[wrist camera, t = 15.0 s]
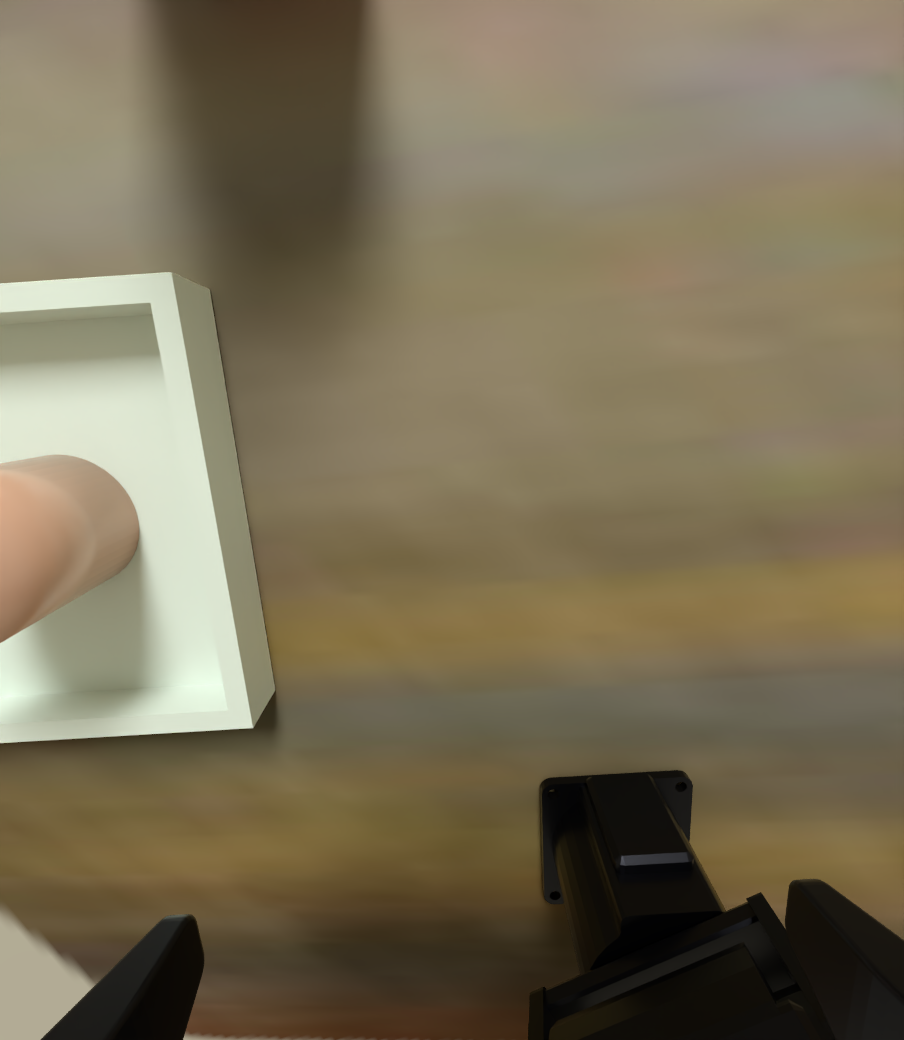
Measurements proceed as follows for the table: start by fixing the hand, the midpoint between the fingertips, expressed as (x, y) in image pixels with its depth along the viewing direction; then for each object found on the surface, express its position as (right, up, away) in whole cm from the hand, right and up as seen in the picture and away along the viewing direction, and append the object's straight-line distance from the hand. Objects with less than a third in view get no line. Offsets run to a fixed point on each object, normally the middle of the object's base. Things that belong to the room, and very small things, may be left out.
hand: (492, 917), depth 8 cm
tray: (-15, +6, +12) cm, 20 cm away
